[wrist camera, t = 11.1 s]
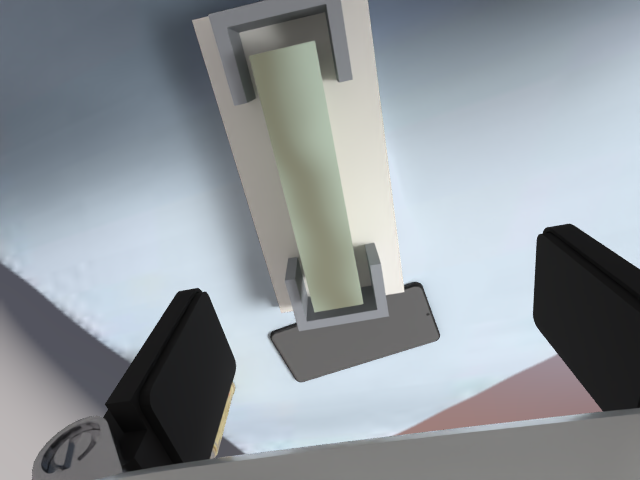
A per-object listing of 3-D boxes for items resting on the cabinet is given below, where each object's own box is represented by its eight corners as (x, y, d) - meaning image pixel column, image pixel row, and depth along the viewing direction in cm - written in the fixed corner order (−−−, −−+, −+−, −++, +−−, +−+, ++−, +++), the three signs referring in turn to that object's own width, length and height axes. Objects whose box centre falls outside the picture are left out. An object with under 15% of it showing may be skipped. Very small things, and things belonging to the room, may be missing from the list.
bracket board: (363, -19, 23) (372, -37, 19) (402, 285, 33) (413, 316, 29) (196, 22, 24) (171, 12, 20) (282, 306, 34) (277, 339, 30)
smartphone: (267, 335, 35) (421, 283, 32) (268, 329, 36) (419, 277, 33) (298, 385, 37) (442, 340, 35) (298, 378, 38) (439, 334, 36)
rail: (315, 45, 24) (314, 40, 19) (357, 269, 31) (363, 304, 26) (261, 57, 24) (248, 56, 20) (315, 276, 31) (314, 312, 27)
